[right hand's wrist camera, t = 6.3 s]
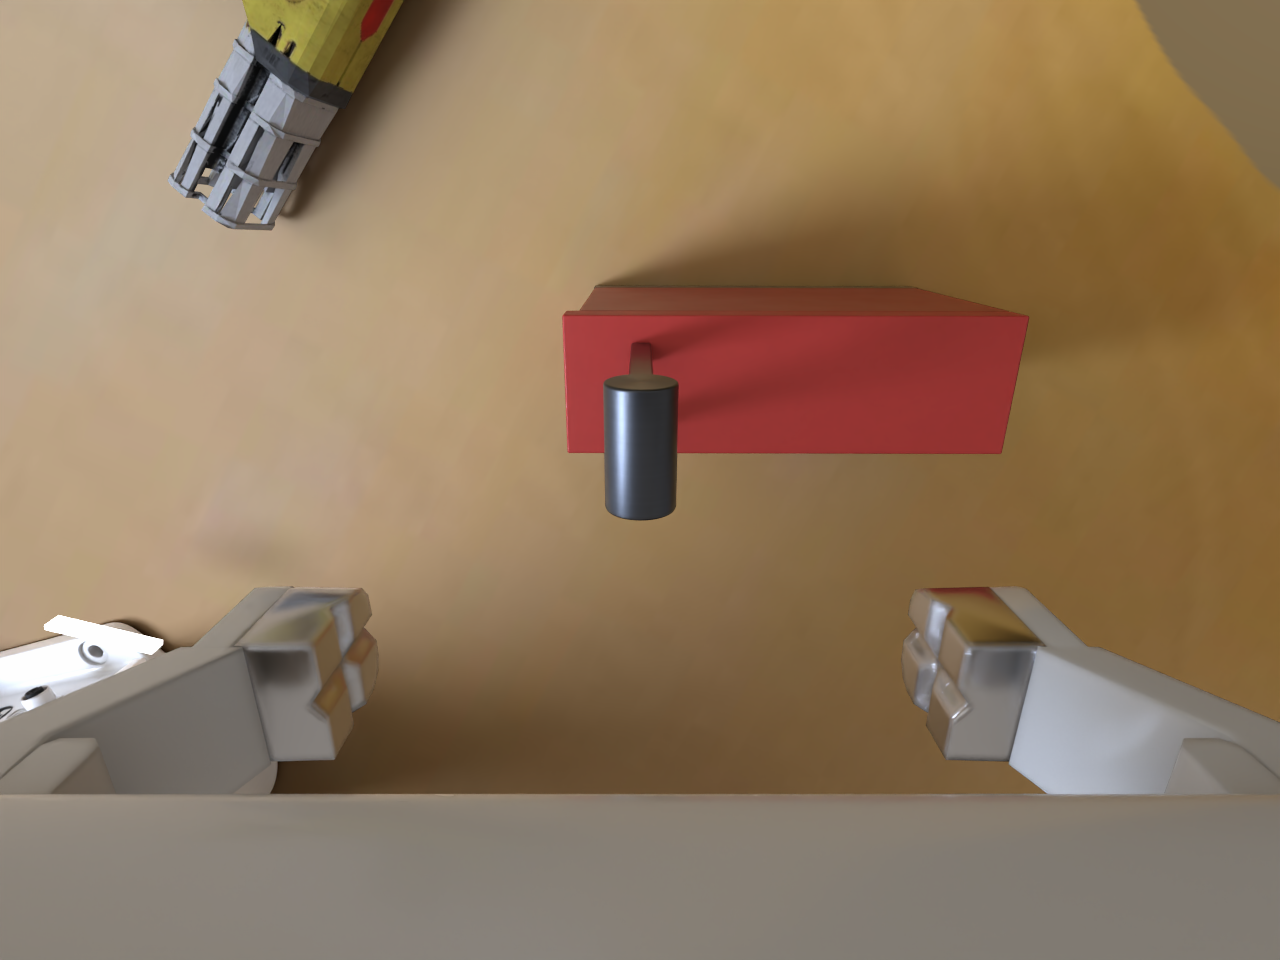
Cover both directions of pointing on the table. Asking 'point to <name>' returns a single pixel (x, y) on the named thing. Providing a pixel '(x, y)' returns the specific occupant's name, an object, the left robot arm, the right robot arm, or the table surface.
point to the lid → (780, 388)
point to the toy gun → (277, 102)
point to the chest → (776, 299)
